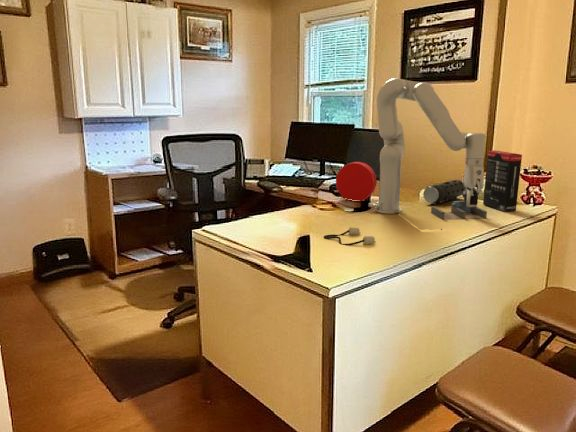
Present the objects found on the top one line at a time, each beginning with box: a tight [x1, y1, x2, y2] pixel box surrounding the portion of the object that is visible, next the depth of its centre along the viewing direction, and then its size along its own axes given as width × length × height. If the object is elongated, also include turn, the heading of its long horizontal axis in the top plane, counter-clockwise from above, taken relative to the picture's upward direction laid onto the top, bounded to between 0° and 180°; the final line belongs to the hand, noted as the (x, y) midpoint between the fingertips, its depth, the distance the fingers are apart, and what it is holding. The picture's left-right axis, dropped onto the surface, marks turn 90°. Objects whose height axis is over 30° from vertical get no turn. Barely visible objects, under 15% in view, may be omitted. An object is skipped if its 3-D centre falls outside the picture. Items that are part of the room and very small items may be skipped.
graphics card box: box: [482, 150, 523, 213], centre depth 227 cm, size 17×7×27 cm, turn 14°
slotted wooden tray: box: [430, 200, 488, 221], centre depth 211 cm, size 20×14×6 cm
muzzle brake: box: [423, 179, 465, 205], centre depth 244 cm, size 10×28×10 cm, turn 135°
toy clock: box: [335, 161, 377, 202], centre depth 245 cm, size 20×6×20 cm, turn 66°
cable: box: [323, 226, 377, 246], centre depth 177 cm, size 16×16×4 cm
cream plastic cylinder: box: [466, 187, 476, 207], centre depth 208 cm, size 4×4×8 cm
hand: (471, 203), depth 209 cm, fingers closed on cream plastic cylinder, 4 cm apart
